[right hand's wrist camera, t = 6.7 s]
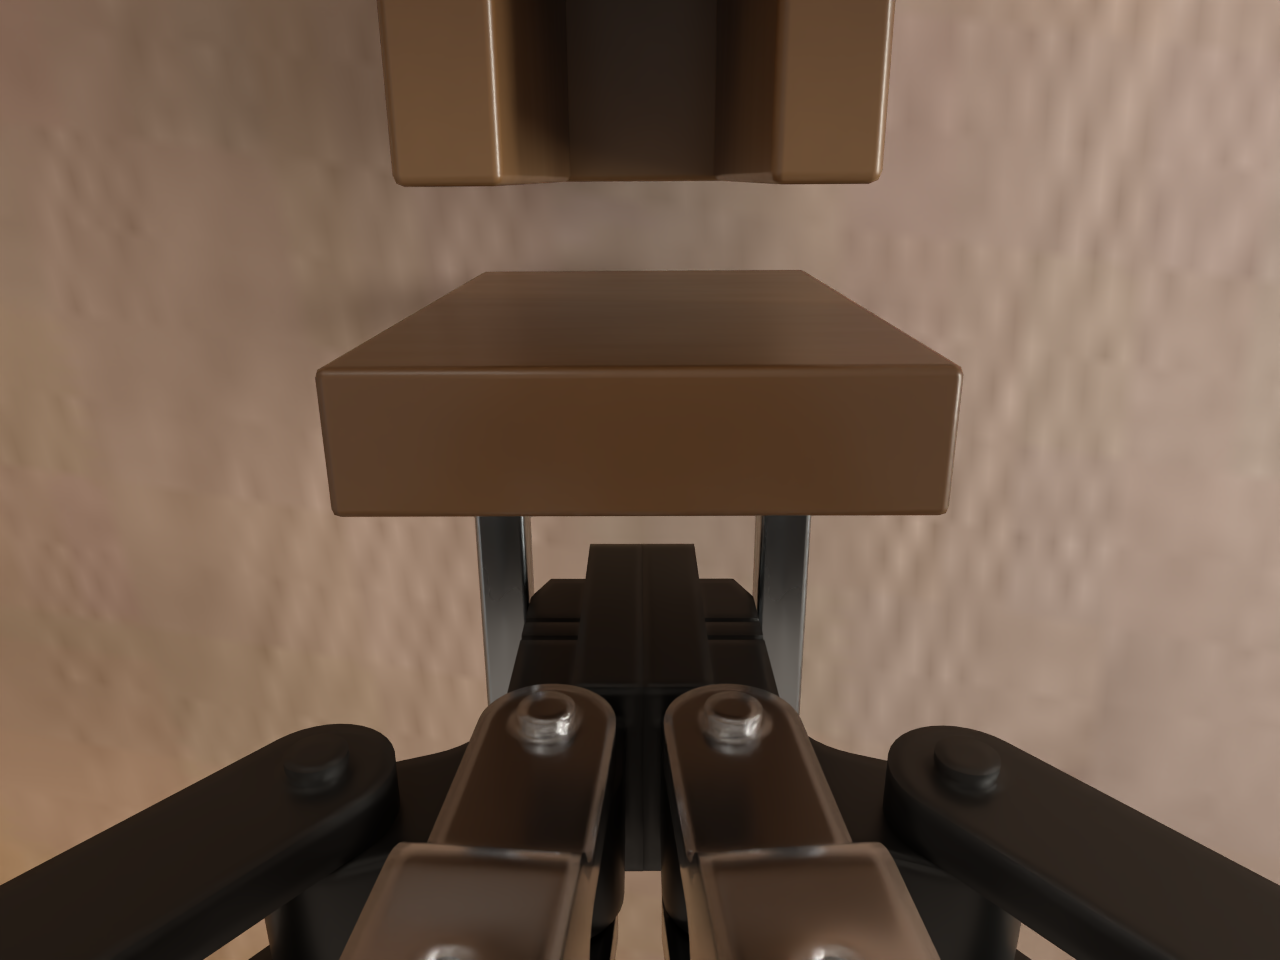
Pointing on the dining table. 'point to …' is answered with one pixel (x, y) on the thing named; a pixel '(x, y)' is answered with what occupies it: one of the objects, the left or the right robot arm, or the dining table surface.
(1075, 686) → the dining table surface
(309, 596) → the dining table surface
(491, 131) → the drawer
